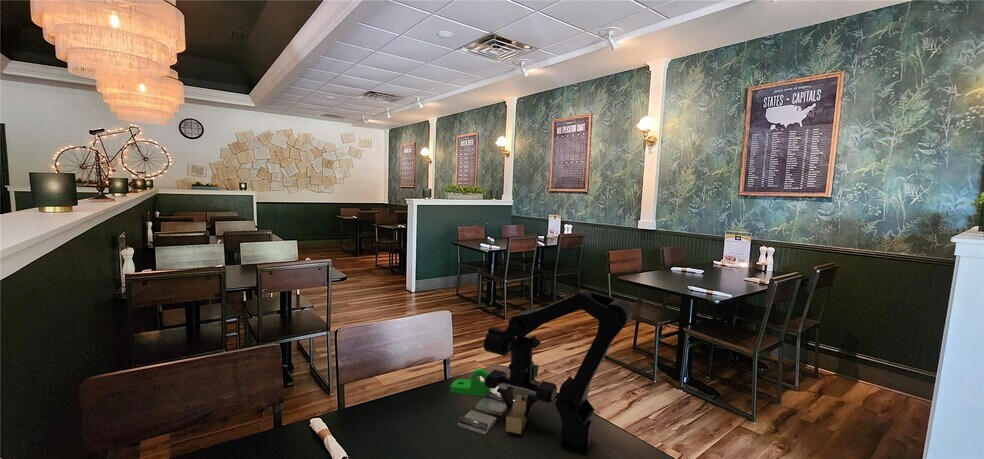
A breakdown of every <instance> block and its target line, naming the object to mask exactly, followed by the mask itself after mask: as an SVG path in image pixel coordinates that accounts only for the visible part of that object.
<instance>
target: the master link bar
mask: <svg viewBox="0 0 984 459" xmlns="http://www.w3.org/2000/svg"><path fill="white" fill-rule="evenodd" d="M528 396H529V395H528ZM528 396H527V395H524V394H522V395H521V394H517V395H516V397H515V399H514V400H513V405H512V406H511V408H510V410H508V412H507V414H506V416H505V418H506V420H505V432H509V433H513V434H519V435H521V434H522V432H523V430H524V428H525V425H526V423H527V422H528V421H527V420H529V417H528V418H526V398H527V397H528Z"/></svg>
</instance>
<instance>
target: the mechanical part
mask: <svg viewBox="0 0 984 459" xmlns="http://www.w3.org/2000/svg"><path fill="white" fill-rule="evenodd" d="M489 374H490V372H488V371H487V370H486V369H485V368H481V367H480V368H476V369H475V370H474V371H473V373H472V375H471V378H470V379H467V378H459V379H456V380H454V381H453V382H452V383H451V384H450V388H449V390H450V393H453V394H461V395H472V396H478V397H479V396H480V397H485V396H484V393H485V391H487V392H491V391H490V388H489V387H486V386H485V378H486V376H487V375H489ZM478 377H481V378H483V381H482V380H479V379H478Z"/></svg>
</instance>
